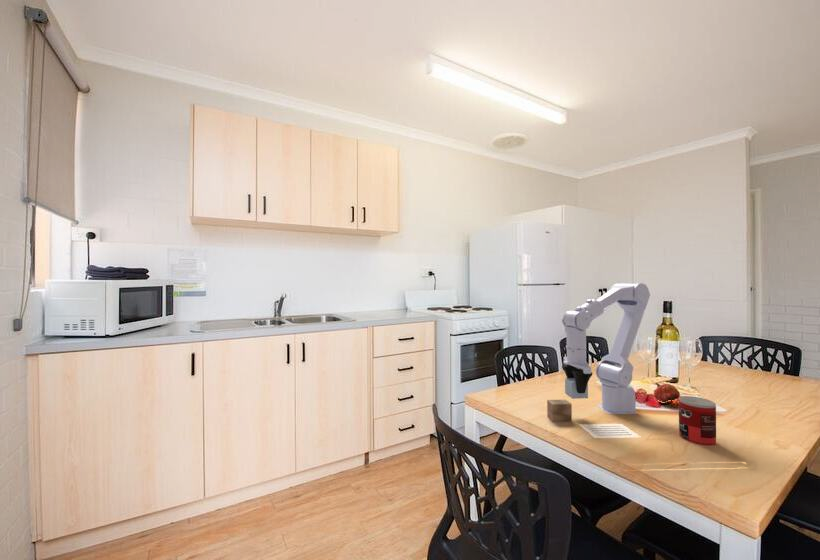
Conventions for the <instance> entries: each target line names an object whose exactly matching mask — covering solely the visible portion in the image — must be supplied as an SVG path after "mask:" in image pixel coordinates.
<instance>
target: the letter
mask: <svg viewBox="0 0 820 560" xmlns="http://www.w3.org/2000/svg"><path fill="white" fill-rule="evenodd" d="M579 426H580V427H581V428H583V429H584V430H585V431H586V432H587V433H588V434H590V435H591V436H592V437H593V438H594V439H617V438H618V439H619V438H620V439H621V438H622V439H623V438H641V436H640V435H639V434H638V433H636V432H634V431H633V430H632V429H630V428H628V427H627V426H625V425H624V424H623V423H590V424H585V423H584V424H579Z"/></svg>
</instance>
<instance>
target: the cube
mask: <svg viewBox="0 0 820 560" xmlns="http://www.w3.org/2000/svg"><path fill="white" fill-rule="evenodd" d="M564 394H565V395H567V396H568V397H570V398H571V399H573V400H575V399H577V400H578V399H579V400H580V399H589V384H587V387H586V391H585V393H578V392H577V389H576V381H575V378H567V377H566V378H564Z"/></svg>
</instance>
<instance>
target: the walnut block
mask: <svg viewBox="0 0 820 560" xmlns="http://www.w3.org/2000/svg"><path fill="white" fill-rule="evenodd" d="M546 402H547V403H546V405H547V406H546V407H547V411H546V413H547V414H546V415H547V418H548V419H549V420H550V421H551V422H552V423H553V422H554V423H557V422H558V423H561V422H562V423H563V422H572V421H573V417H572V416H573V413H572V412H573V411H572V409H573V408H572V407H573V406H572V405H573V404H572V403H571V402H570V401H569V400H567V399H547V400H546Z"/></svg>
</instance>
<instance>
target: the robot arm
mask: <svg viewBox="0 0 820 560" xmlns="http://www.w3.org/2000/svg"><path fill="white" fill-rule="evenodd" d="M650 298H651V293H650V291H649V287H648V286H647V285H646V284H645V283H643V282H639V283H622V282H617V283H615V284H614V285H611V286H610V289H609V290H608V291H606V292H605V293H604V294H602V295H601V296H600V297H598V298H597V299H591V298H590V299H589V298H588V299H587V300H586V302H585V303H583V304H581V305H580V306H577V307H576V308H575V309H574V310H568V311H566V312H565V313H564V314H563V317H562V319H561V323H562V325H563V326H564V332H565V333H566V356H563V362H562V363H563V364H562V365H561V368H562V369H563V371H564V374H565V375H566V378H575V381H576V389H577V392H578V393H585V391H586V387H587V384H588V383H589V382H590V378H591V377H593V372H592V366H590V365H589V363H588V362H587V330H588V329H589V327H590V325H591V323H592V322H593V321H594V320H595V319H597V318H599V317H600V316H601V315H603V314H604V310H605V309H606V308H608V307H609V306H611V305H612V304H613V305H614V304H615V303H617V305H618V306H619V307H620V308H621V309H622V310H623V311H624V314H623V317H622V319H621V322H620V324H619V327H618V330H617V334H616V335H615V339H614V342H613V344H612V347H611V350H610V352H609V353H608V354H606V355H604V356H602V357H601V360H600V362H599V363H598V364H597V365H596V368H595V375H596V377H597V378H598V379H599V383H601V404H596V407H598V408H599V409H601V410H602V411H603V412H606V414H608V415H632V414H633V415H634V414H638V412H636V409H637V407H636V392H635V389H634V387H633V386H632V385H631V383H632V380H633V371H634V366H633V364H632V363H631V361H629V357H630V354H631V351H632V348H633V346H634V343H635V339H636V336H637V334H638V331H639V329H640V326H641V323H642V320H643V318H644V317H643V316H644V314H645V311H646V309H647V305H648V304H649V300H650ZM588 385H589V384H588Z"/></svg>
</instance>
